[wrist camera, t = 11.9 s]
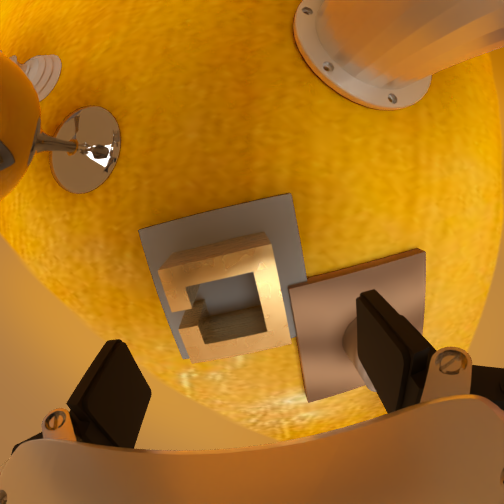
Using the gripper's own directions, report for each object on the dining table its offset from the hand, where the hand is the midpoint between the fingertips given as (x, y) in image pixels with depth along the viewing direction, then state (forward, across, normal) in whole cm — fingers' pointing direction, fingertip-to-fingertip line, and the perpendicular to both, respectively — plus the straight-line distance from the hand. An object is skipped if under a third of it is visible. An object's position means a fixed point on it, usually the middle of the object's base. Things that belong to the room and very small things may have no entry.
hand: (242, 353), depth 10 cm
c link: (+10, +1, +1) cm, 10 cm away
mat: (+10, +1, +1) cm, 11 cm away
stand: (+10, -9, +8) cm, 16 cm away
